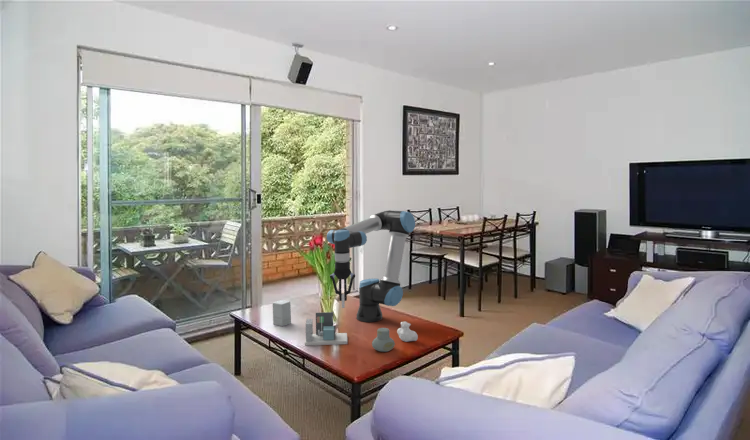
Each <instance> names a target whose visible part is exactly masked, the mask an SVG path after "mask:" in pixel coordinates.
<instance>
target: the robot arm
mask: <svg viewBox="0 0 750 440" xmlns="http://www.w3.org/2000/svg"><path fill="white" fill-rule="evenodd" d="M415 227H416V219H415V217H414V215H413V213H412V212H410V211H404V210H391V209H390V210H384V211H381V212H378V213H375V214H372V215H370V217H369V218H367V219H364V220H361V221H359V222H356V223H354V224H350V225H348V226H345V227H342V228H339V229H329V231H328V232H327V233H326V241H327V242H328V243H330V244H333V245H334V261H335V262H334V271H333V272H332V274H329V278H330V279H331V281H332V285H333V289H334V292H335V293H334V294H336V295H338V300H339V301H340V302H341V308H342V309H345V308H346V306H345V303H346V301H347V300H348V294H351V291H352V287H353V283H354V279H355V278H356V273H353V272H352V271H351V263H350V262H351V261H350V259H351V254H350V252H351V251H350V250H351V248H356V247H362V246H365V244H366V243H367V241H368V239H367V238H368V237H367V234H369V233H371V232H374V231H375V232H379V231H384V230H385V231H388V233H389V235H390V240H389V243H388V244H389V245H388V250H387V256H386V261H385V266H384V272H383V277H382V278H380V279H379V278H366V279H362V280H361V281H359V284H358V285H359V287H358V289H359V290H358V292H359V293H358V295H359V297H358V298H359V306H358V309H357V312H356V320H357V321H359V322H363V323H365V322H366V323H374V322H379V321H381V320H383V312H382V310H381V306H380V305H384V306H387V307H389V306H390V307H395V306H397V305H398V304H400V302H401V301H402V298H403V295H404V291H403V287H401V282H400V280H399V278H400V273H401V268H402V267H401V266H402V263H403V262H402V261H403V254H404V251H405V250H404V249H405V244H406V239H407V238H408V237H409V236H410V233H412V232H414V230H415ZM349 277H350V279H349V284H348V288H347V283H348V282H347V279H348V278H349ZM335 278H337V280H338V287H337V283H336V280H335ZM342 280H343V284H344V285H343V290H344V291H343V290H342ZM342 291H343V292H344V293H342Z"/></svg>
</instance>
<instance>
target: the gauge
mask: <svg viewBox="0 0 750 440" xmlns="http://www.w3.org/2000/svg"><path fill="white" fill-rule="evenodd" d="M335 333H336V325H333V326H324V327H323V331H322V316H321V331H320V330H318V336H320V335H323V340H335Z"/></svg>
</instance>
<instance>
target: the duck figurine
mask: <svg viewBox="0 0 750 440" xmlns="http://www.w3.org/2000/svg"><path fill="white" fill-rule="evenodd" d="M399 323H400V327H399V328H397V330H396V333H397V335H398V337H399V339H400V340H401V341H403V342H406V343H407V342H408V343H409V342H416V341H417V340H418V338H419V337H418V336H419V335H418V334H417V332H416V331H414V330H411V329H410V326H411V325H412V324H411V323H410V322H408V321H401V322H399Z"/></svg>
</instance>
